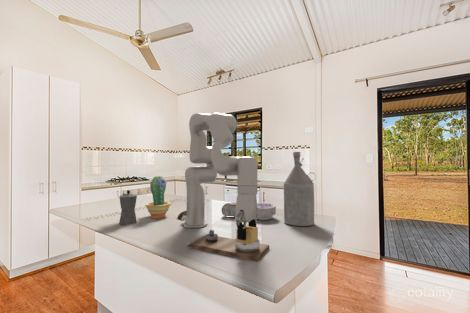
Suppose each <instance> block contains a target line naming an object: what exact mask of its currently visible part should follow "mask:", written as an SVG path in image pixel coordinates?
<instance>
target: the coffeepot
mask: <svg viewBox="0 0 470 313" xmlns="http://www.w3.org/2000/svg"><path fill="white" fill-rule="evenodd" d="M137 198H138V195H137V194H135V193H134V194H133V193H131V190H129V189H128V190H126V193H122V194H121V195H119V204H120V209H121V213H120V217H119V222H118V223H119V225H121V226H131V225H134V224H137V222H138V221H137V215H136V205H137Z"/></svg>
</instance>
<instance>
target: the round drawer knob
mask: <svg viewBox="0 0 470 313" xmlns="http://www.w3.org/2000/svg"><path fill="white" fill-rule="evenodd" d="M205 235H206V241H207V242H216V241H218V234H217V233H215V230H214V229H210V230H209V231H208V233H207V234H205Z"/></svg>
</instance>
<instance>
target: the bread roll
mask: <svg viewBox="0 0 470 313" xmlns="http://www.w3.org/2000/svg"><path fill="white" fill-rule="evenodd" d="M183 216H187V209H186V210H183V211H181V212H180V213H179V214H178V215H177V219H178V220H179V219H180V221H182V220H181V218H182V217H183Z"/></svg>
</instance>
